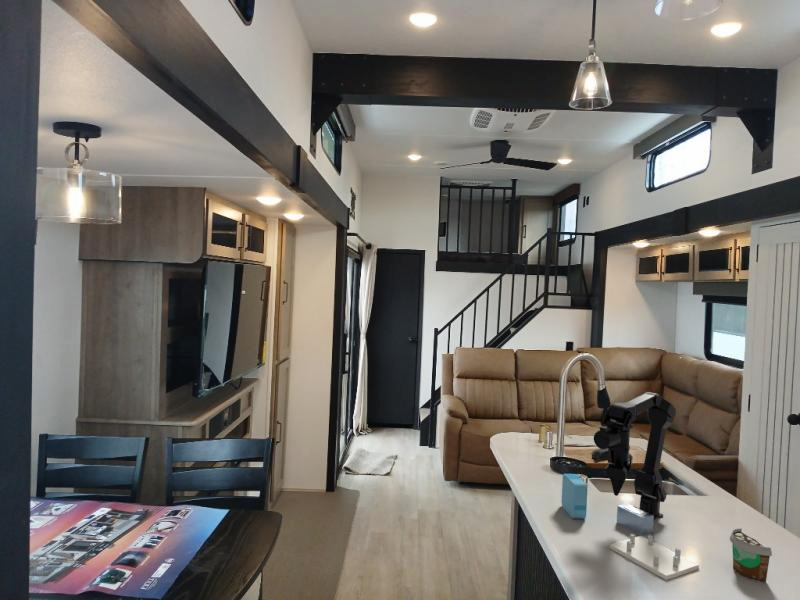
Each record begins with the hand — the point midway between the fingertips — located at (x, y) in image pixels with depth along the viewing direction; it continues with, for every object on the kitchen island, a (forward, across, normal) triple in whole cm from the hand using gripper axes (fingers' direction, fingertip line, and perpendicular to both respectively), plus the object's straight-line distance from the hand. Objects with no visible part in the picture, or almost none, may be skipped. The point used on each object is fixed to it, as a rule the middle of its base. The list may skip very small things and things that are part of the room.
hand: (618, 490), depth 177 cm
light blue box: (+13, -4, -15) cm, 20 cm away
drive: (+13, -3, +5) cm, 14 cm away
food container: (+13, +10, +35) cm, 38 cm away
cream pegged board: (+12, +15, +12) cm, 23 cm away
